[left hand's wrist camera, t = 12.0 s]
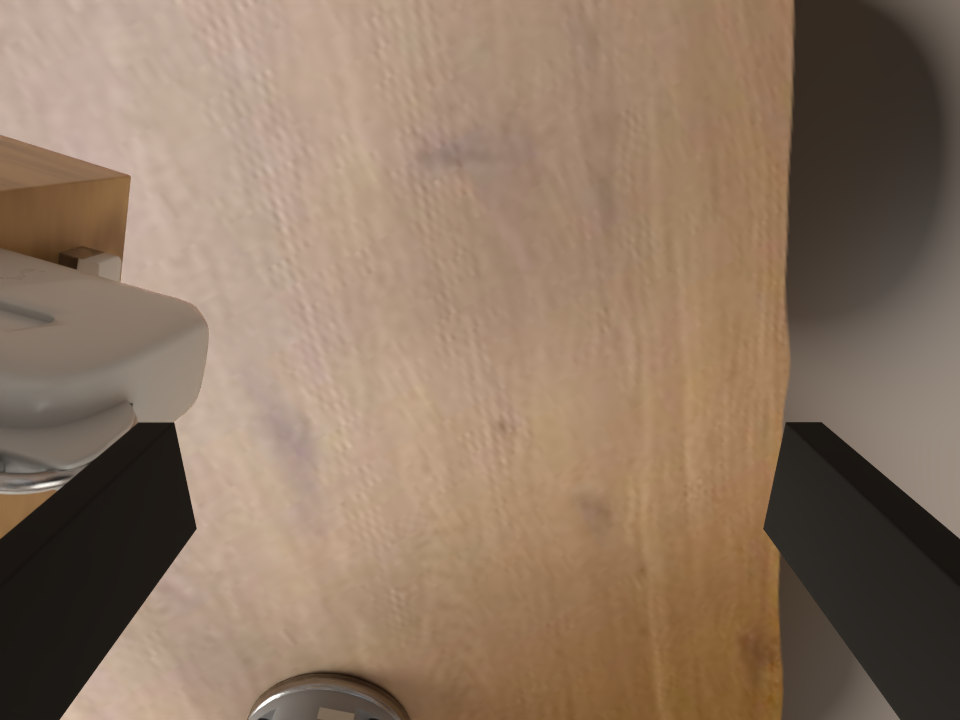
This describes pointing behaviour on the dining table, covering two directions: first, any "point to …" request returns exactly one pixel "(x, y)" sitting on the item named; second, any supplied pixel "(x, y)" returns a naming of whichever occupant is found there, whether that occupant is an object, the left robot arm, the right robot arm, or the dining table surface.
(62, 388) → the right robot arm
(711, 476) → the dining table surface
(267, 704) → the left robot arm
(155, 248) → the dining table surface
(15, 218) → the bar
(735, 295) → the dining table surface
